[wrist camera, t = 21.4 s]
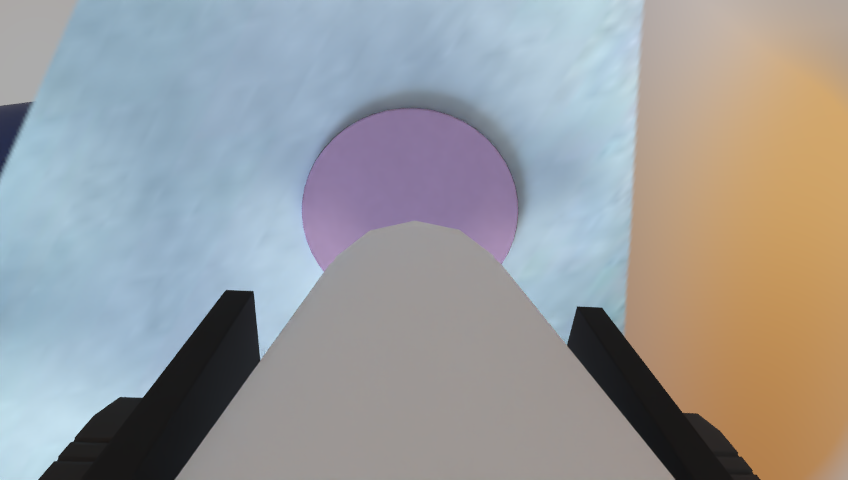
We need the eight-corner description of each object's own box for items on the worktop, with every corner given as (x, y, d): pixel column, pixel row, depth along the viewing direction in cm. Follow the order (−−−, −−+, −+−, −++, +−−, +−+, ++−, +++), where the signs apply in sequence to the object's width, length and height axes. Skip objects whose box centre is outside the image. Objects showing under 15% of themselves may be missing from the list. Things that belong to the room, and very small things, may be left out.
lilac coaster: (307, 303, 24) (305, 307, 23) (299, 99, 19) (296, 99, 19) (499, 312, 24) (501, 316, 24) (534, 116, 20) (536, 117, 20)
